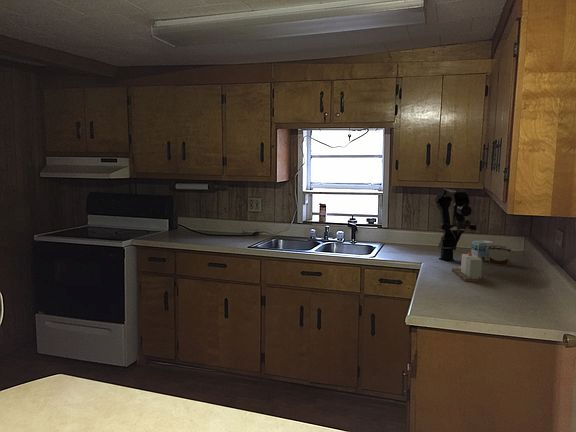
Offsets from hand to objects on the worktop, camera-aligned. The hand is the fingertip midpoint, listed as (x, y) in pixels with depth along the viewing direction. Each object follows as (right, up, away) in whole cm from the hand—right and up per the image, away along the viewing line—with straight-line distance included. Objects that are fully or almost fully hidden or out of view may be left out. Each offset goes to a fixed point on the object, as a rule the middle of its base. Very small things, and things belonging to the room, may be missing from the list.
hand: (456, 242), depth 267 cm
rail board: (-2, -16, -22) cm, 27 cm away
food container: (+26, -13, +7) cm, 30 cm away
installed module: (-2, -15, -30) cm, 34 cm away
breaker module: (-2, -14, -23) cm, 27 cm away
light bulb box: (+21, -11, +18) cm, 30 cm away
